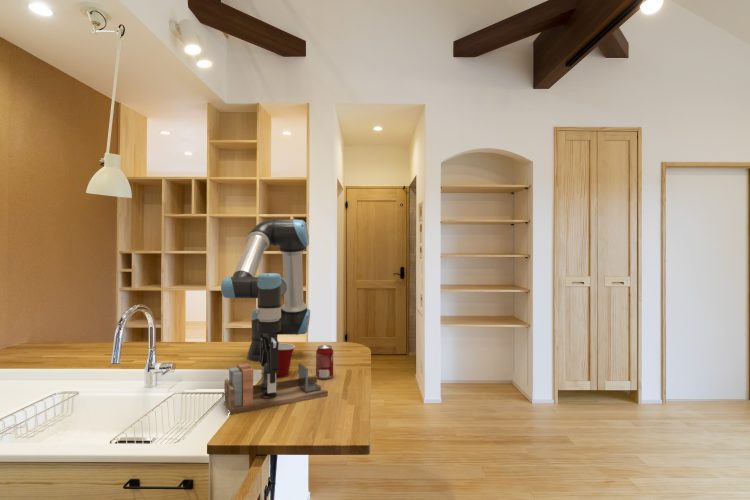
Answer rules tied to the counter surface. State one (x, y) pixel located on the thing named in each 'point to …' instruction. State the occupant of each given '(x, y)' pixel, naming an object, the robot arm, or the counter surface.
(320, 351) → the soda can
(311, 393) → the wooden book rack
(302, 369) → the bookend
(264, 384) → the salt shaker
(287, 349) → the plastic cup
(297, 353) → the counter surface
